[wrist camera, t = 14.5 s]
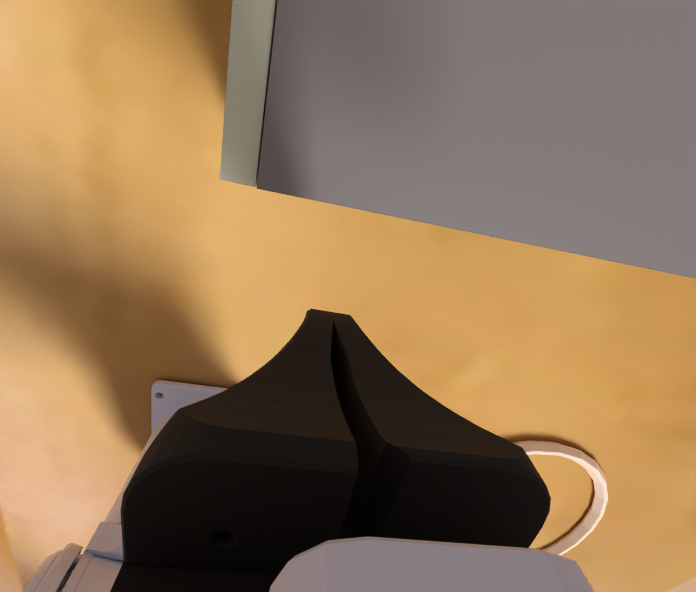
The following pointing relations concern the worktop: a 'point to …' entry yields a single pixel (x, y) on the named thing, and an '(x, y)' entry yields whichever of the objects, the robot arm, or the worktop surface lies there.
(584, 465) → the hand towel holder
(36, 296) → the worktop surface
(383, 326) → the worktop surface
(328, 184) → the block
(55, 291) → the worktop surface
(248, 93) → the drawer tray
